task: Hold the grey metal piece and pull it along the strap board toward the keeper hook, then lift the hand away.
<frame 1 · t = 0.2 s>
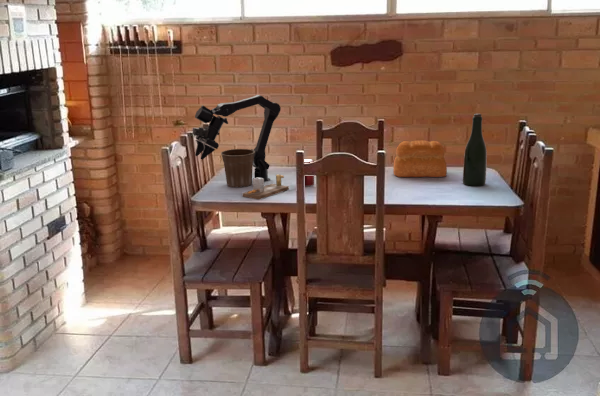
hand: (198, 157, 290), 15 cm above the table, tool tilted 30°, fingers open, 9 cm apart
soda can: (306, 185, 296), on the table
plant pot: (239, 185, 299), on the table
grey metal piece: (255, 186, 276), point 5 cm above the table, slide at 0.0 cm
keeper hook: (279, 188, 290), resting on strap board
green wine bottle: (473, 184, 290), on the table
strap board: (266, 192, 283), on the table
bread: (419, 174, 312), on the table
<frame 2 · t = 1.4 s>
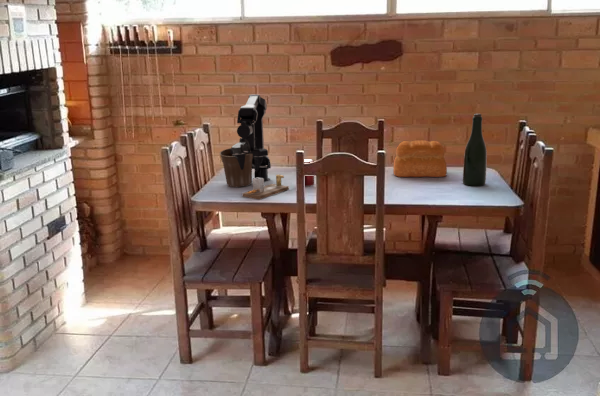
hand: (249, 170, 276), 12 cm above the table, tool pointing down, fingers open, 9 cm apart
plant pot: (239, 184, 299), on the table, touching arm
everything else where it was.
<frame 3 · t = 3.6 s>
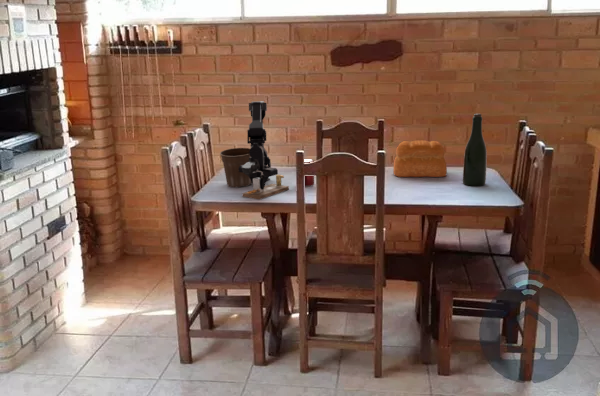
hand: (258, 188, 278), 3 cm above the table, tool pointing down, fingers closed on grey metal piece, 4 cm apart
grey metal piece: (255, 186, 276), point 5 cm above the table, slide at 0.0 cm, touching gripper
everything else where it was.
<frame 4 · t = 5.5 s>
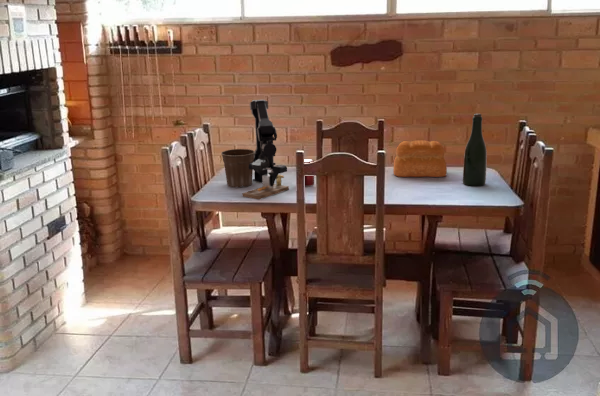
hand: (268, 185, 283), 3 cm above the table, tool pointing down, fingers closed on grey metal piece, 4 cm apart
plant pot: (239, 185, 299), on the table
grey metal piece: (264, 182, 281), point 5 cm above the table, slide at 6.7 cm, touching gripper
everything else where it was.
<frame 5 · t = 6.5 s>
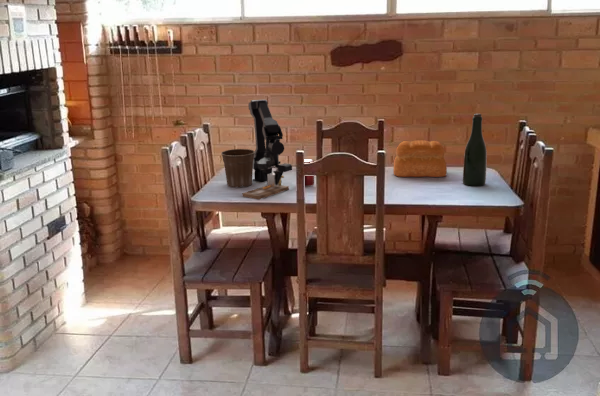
hand: (273, 184, 286), 3 cm above the table, tool pointing down, fingers closed on grey metal piece, 4 cm apart
grey metal piece: (269, 181, 284), point 5 cm above the table, slide at 10.3 cm, touching gripper
everything else where it was.
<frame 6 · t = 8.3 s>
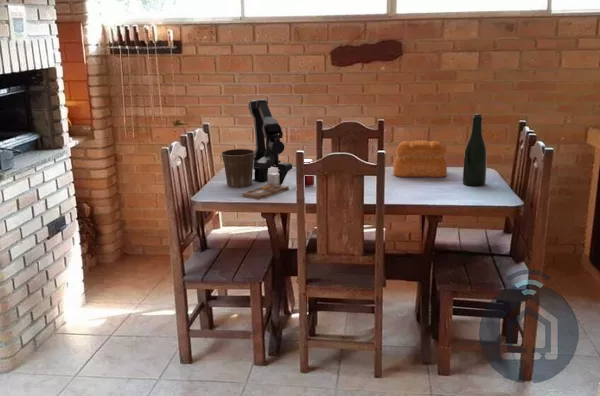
hand: (273, 183, 286), 3 cm above the table, tool pointing down, fingers open, 9 cm apart
grey metal piece: (270, 181, 284), point 5 cm above the table, slide at 10.4 cm
everything else where it was.
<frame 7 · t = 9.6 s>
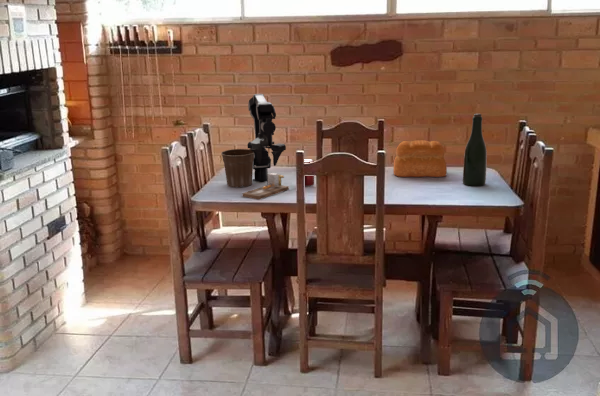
hand: (267, 164, 285), 12 cm above the table, tool pointing down, fingers open, 9 cm apart
nothing on the table moved.
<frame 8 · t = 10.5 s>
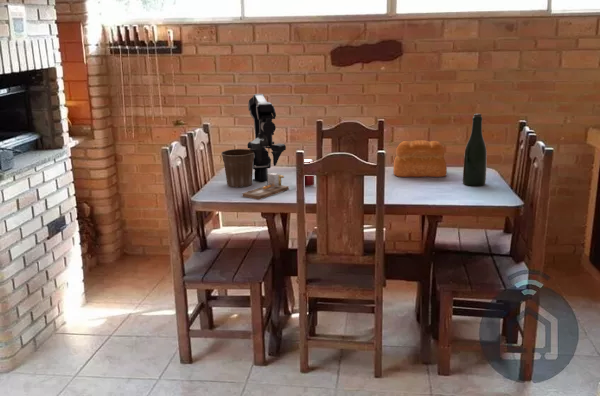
hand: (267, 164, 285), 12 cm above the table, tool pointing down, fingers open, 9 cm apart
nothing on the table moved.
at the end: grey metal piece slide at 10.4 cm; the gripper is holding nothing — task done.
